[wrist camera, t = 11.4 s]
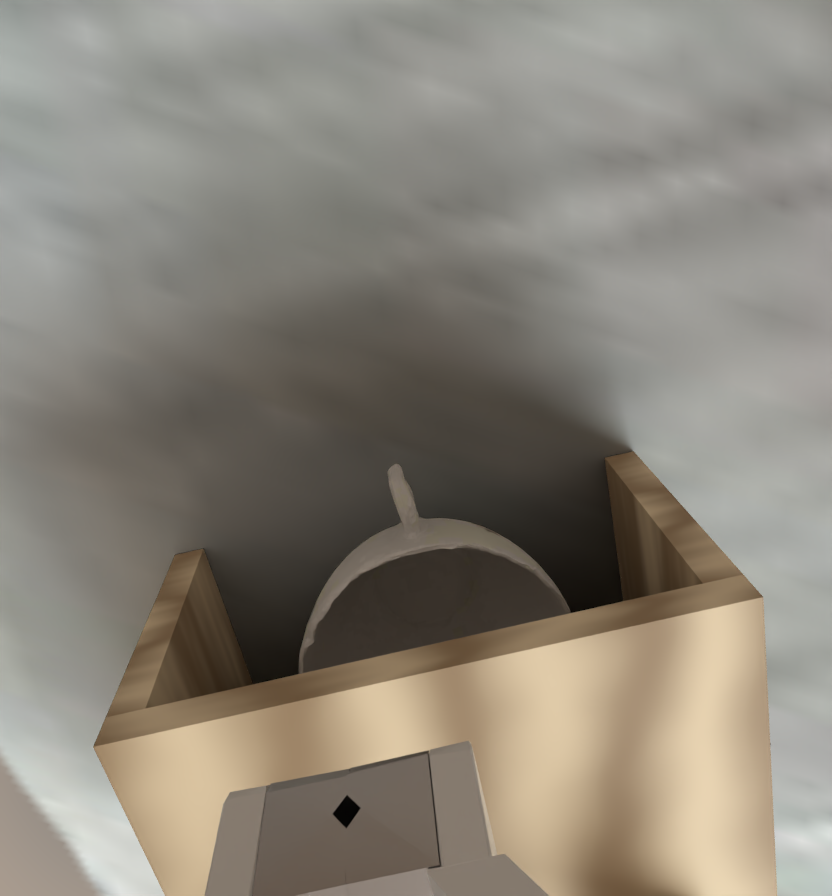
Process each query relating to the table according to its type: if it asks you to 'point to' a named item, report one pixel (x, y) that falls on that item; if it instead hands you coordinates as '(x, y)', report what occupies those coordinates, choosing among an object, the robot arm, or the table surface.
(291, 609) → the table surface
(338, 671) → the wooden bridge shelf
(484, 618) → the teacup
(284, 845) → the robot arm
